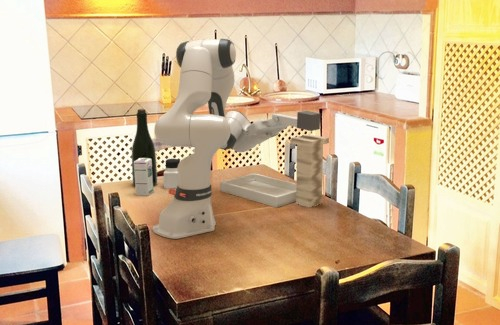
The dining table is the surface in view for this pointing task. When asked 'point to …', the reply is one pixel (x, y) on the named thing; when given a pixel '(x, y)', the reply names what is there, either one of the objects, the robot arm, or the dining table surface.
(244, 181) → the tray
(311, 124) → the grey mallet
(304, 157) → the ribbed beige tower
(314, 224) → the dining table surface
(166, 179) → the medicine bottle
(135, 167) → the syrup box
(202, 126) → the robot arm
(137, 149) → the wine bottle
